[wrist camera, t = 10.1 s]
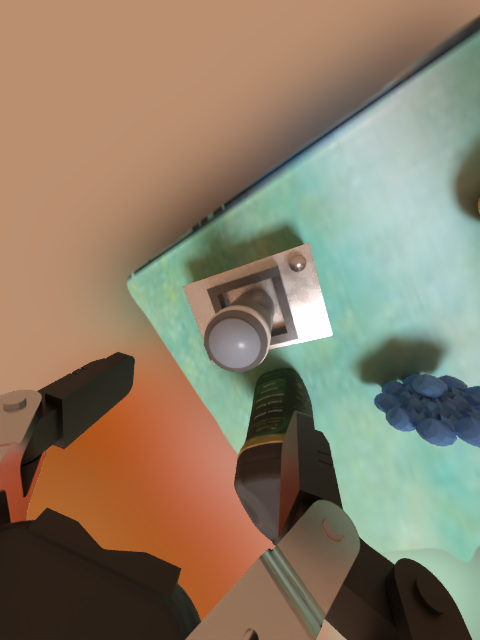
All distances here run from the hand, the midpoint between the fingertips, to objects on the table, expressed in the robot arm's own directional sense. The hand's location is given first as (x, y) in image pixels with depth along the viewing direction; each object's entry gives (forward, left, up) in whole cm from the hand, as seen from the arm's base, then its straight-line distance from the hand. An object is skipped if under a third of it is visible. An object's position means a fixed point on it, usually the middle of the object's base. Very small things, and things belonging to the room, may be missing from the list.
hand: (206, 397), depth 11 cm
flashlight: (0, 0, -18) cm, 18 cm away
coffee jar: (+1, +16, -24) cm, 29 cm away
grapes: (-17, +16, -24) cm, 34 cm away
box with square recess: (0, 0, -24) cm, 24 cm away
